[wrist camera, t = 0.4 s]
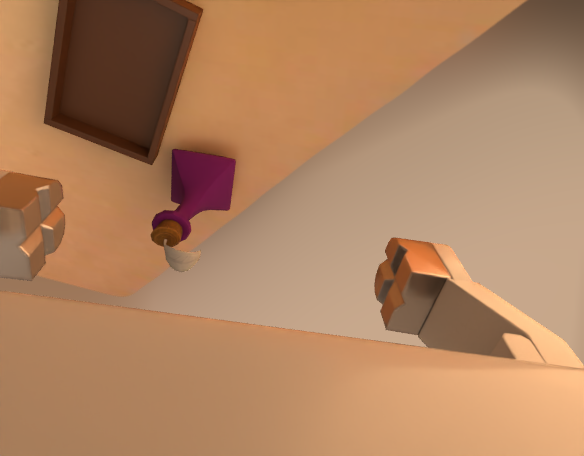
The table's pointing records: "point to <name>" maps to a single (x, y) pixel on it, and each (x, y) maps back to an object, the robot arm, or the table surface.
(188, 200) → the perfume bottle
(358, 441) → the robot arm
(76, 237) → the table surface
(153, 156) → the tray
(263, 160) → the table surface
